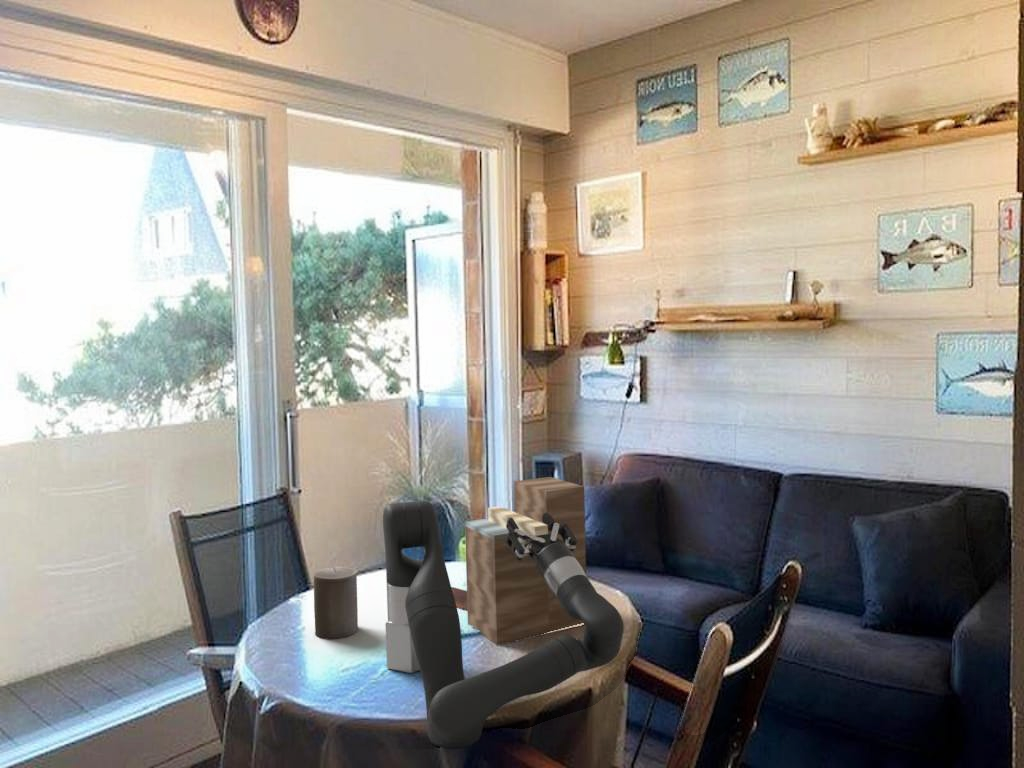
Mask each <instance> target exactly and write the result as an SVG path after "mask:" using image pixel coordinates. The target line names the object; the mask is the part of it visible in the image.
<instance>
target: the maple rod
mask: <svg viewBox="0 0 1024 768" xmlns="http://www.w3.org/2000/svg"><path fill="white" fill-rule="evenodd" d="M487 508H488V509H487V514H488V516H487V519H488V521H490V522H493V523H495V524H497V525H499V526H502V527H504V528H506V524H507V521H508V518H513V520H514V521H515V523H516V524H517V526H518V527H519V530H521V531H523V532H525V533H526V532H529V533H531V534H533V535H535V536H539V535H545V534H548V525H546V524H543V523H541V522H538V521H536V520H533V519H531V518H528V517H526V516H523V515H521V514H518V513H516V512H515V511H513V510H510V509H508V508H505V507H502V506H501V505H499V506H498V505H497V506H492V507H487ZM506 529H507V528H506Z"/></svg>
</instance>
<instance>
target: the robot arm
mask: <svg viewBox="0 0 1024 768" xmlns="http://www.w3.org/2000/svg"><path fill="white" fill-rule="evenodd" d="M542 521H543V523H544V524H546V525H548V530H549V531H552V532H551V534H545V535H539V536H535V535H533V534H531V533H529V532H526V533H525V532H523V531H521V530H519V527H518V526H517V524H516V523H515V521H514V520H513V518H508V521H507V524H506V528H507V529H508V531H509V533H508V535H507V539H506V544H507V546H508V547H509V548H510V550H511V551H512V553H513V554H514V556H515V557H516V559H517V560H519V561H521V560H522V559H523V557H525V556H530V557H532V558H533V559H534V561H535V564H536V567H537V568H538V570H539V572H540V573H541V575H542V576H543V578H544V580H545V581H546V583H547V584H548V586H549V588H550V589H551V591H552V592H553V593H554V594H555V595H556V596H557V598H558V600H559V601H560V603H561V604H562V606H563V608H564V609H565V611H566V612H567V613H568V615H569V616H570V617H572V618H573V619H575V620H583V622H584V625H585V626H584V632H583V635H581V637H579V638H576V637H575V636H573V635H571V634H562V635H559V636H558V637H556V638H553V639H552V640H550V641H549V642H547V643H544V644H543V645H541V646H539V647H537V648H536V649H534V650H532V651H530V652H527V654H524V655H522V656H520V657H519V658H516V659H514V660H512V661H510V662H508V663H504V664H503V665H501V666H498V667H495V668H492V669H490V670H487V671H484V672H482V673H479V674H476V675H473V676H471V677H468V678H465V674H464V673H465V672H464V664H463V643H462V642H463V641H462V630H461V623H460V621H461V620H460V616H459V612H458V608H457V607H456V603H455V599H454V595H453V592H452V588H451V587H452V585H451V581H450V577H449V574H448V570H447V565H446V561H445V557H444V555H445V554H444V551H443V544H442V539H441V538H442V537H441V531H440V526H439V525H440V524H439V520H438V515H437V511H436V508H435V507H434V505H433V504H432V502H430V501H429V500H415V501H404V502H394V503H388V504H386V505H385V507H384V508H383V513H382V529H383V530H382V531H383V538H384V539H383V540H384V550H385V572H386V576H385V577H386V578H385V579H386V602H387V603H386V604H387V605H386V607H387V608H386V609H387V621H386V622H385V624H384V625H385V646H386V647H385V648H386V649H385V652H386V669H390V670H394V671H399V672H404V673H409V674H413V673H415V672H418V671H420V675H421V678H422V683H423V689H424V699H425V709H426V719H427V720H426V723H427V724H426V725H427V726H426V727H427V735H428V739H429V740H430V742H431V743H432V744H433V745H435V746H438V747H439V748H442V749H447V750H459V749H465V748H468V747H470V746H473V745H474V744H475V743H477V742H478V741H479V740H480V738H481V736H482V732H483V727H484V724H485V721H486V720H487V719H488V718H489V717H491V715H492V714H494V713H495V712H496V711H497V710H499V709H501V708H502V707H503V706H505V705H506V704H508V703H510V702H512V701H515V700H517V699H519V698H522V697H526V696H531V695H534V694H539V693H543V692H546V691H548V690H550V689H553V688H554V687H556V686H558V685H560V684H562V683H563V682H565V681H566V680H568V679H570V678H572V677H573V676H575V675H577V674H578V673H580V672H585V671H589V670H593V669H596V668H600V667H603V666H605V665H608V664H609V663H610V662H612V661H613V660H614V659H615V658H616V657H617V656H618V655H619V653H620V651H621V650H620V649H621V647H622V641H623V640H622V639H623V635H624V629H625V626H624V625H625V623H624V620H623V618H622V616H621V614H620V612H619V611H618V609H617V608H616V607H615V606H614V605H613V604H612V603H610V601H608V599H606V598H605V597H604V596H603V595H601V594H600V593H599V592H597V590H596V589H595V586H594V585H593V584H592V582H591V581H590V579H589V578H588V577H587V573H586V574H585V572H584V570H583V569H582V567H581V565H580V564H579V563H578V561H577V560H576V558H575V557H574V555H573V554H572V552H571V551H575V548H576V545H577V539H576V538H575V536H574V535H573V533H572V531H571V530H570V528H569V527H568V525H567V524H563V525H559V524H558V523H556V522H555V521H554V519H553V518H552V516H551V515H549V514H548V513H543V516H542ZM557 534H560V535H561V537H562V538H563V540H564V541H562V540H560V539H558V538H557ZM519 536H521V537H522V538H523V539H521V538H519ZM528 539H530V540H531V541H530V545H529V544H528V543H527V540H528ZM420 547H422V548H424V556H423V559H422V560H418V559H415V558H411V557H409V556H407V555H405V554H403V551H402V550H403V549H411V548H420Z"/></svg>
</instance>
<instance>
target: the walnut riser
mask: <svg viewBox="0 0 1024 768" xmlns="http://www.w3.org/2000/svg"><path fill="white" fill-rule="evenodd" d="M513 484H514V485H513V486H514V487H513V488H514V489H513V490H514V512H516V513H518V514H521V515H523V516H526V517H528V518H531V519H533V520H536V521H538V522H541V523H543V521H542V516H543V513H548V514H549V515H551V516H552V518H553V519H554V521H555V522H556V523H558V524H559V525H563V524H567V525H568V527H569V528H570V530H571V531H572V533H573V535H574V536H575V538H576V539H577V545H576V548H575V551H571V552H572V554H573V555H574V557H575V558H576V560H577V561H578V563H579V564H580V565H581V567H582V569H583V570H584V572H585V574H586V575H587V568H586V567H587V556H586V555H587V554H586V553H587V552H586V518H585V517H586V510H585V509H586V506H585V499H586V498H585V486H584V485H580V484H577V483H574V482H570V481H566V480H562V479H559V478H556V477H552V476H547V477H538V478H530V479H522V480H521V479H520V480H514V481H513ZM543 524H544V523H543ZM464 527H465V528H464V530H465V531H464V532H465V534H464V535H465V538H464V539H465V564H466V565H465V569H466V571H465V573H466V591H467V610H468V611H467V625H469V624H470V625H471V626H473V627H474V628H475V629H477V630H479V631H480V632H481V633H482V634H483V635H482V634H481V633H480V634H481V635H482V636H484V637H485V638H486V639H487V640H489V641H490V640H491V642H492V643H493V644H494V643H495V645H496V646H499V645H498V644H501V645H504V644H503V643H505V644H508V643H507V642H510V643H513V642H512V641H514V642H517V641H516V640H519V641H522V640H521V639H523V640H525V639H524V638H528V639H530V638H529V637H532V638H534V637H533V636H536V637H538V636H537V635H541V634H544V633H547V632H550V631H554V630H558V629H561V628H565V627H569V626H573V625H577V624H581V623H584V622H583V620H575V619H573V618H572V617H570V616H569V615H568V613H567V612H566V611H565V609H564V608H563V606H562V604H561V603H560V601H559V600H558V598H557V596H556V595H555V594H554V593H553V592H552V591H551V589H550V588H549V586H548V584H547V583H546V581H545V580H544V578H543V576H542V575H541V573H540V572H539V570H538V568H537V567H536V564H535V561H534V559H533V558H532V557H530V556H525V557H523V559H522V560H521V561H519V560H517V559H516V557H515V556H514V554H513V553H512V551H511V550H510V548H509V547H508V546H507V544H506V539H507V535H508V533H509V531H508V529H506V528H504V527H502V526H499V525H497V524H495V523H493V522H490V521H488V518H482V519H475V520H474V519H473V520H467V521H464ZM551 532H552V531H549V530H548V534H551ZM519 538H521V539H523V538H522V537H521V536H519ZM557 538H558V539H560V540H562V541H564V540H563V538H562V537H561V535H560V534H557ZM530 541H531V540H530V539H528V540H527V543H528V544H529V545H530ZM470 625H469V626H470ZM471 626H470V627H471ZM473 627H472V628H473ZM474 628H473V629H474ZM475 629H474V630H475ZM477 630H476V631H477ZM541 636H542V635H541Z"/></svg>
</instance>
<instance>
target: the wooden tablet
mask: <svg viewBox="0 0 1024 768" xmlns="http://www.w3.org/2000/svg"><path fill="white" fill-rule="evenodd" d="M451 588H452V592H453V595H454V599H455V603H456V607H457V609H461V610H462V611H466V612H468V610H467V589H466V590H465V589H461V588H458V587H453V586H451Z"/></svg>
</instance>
